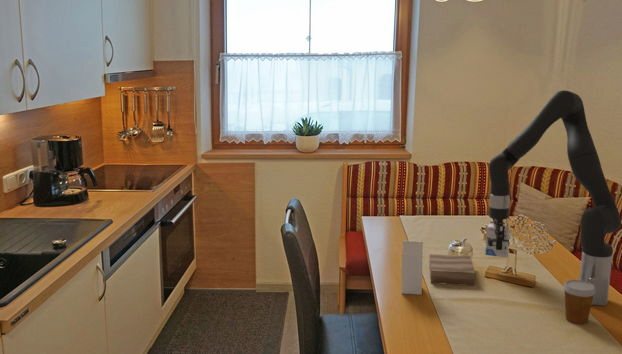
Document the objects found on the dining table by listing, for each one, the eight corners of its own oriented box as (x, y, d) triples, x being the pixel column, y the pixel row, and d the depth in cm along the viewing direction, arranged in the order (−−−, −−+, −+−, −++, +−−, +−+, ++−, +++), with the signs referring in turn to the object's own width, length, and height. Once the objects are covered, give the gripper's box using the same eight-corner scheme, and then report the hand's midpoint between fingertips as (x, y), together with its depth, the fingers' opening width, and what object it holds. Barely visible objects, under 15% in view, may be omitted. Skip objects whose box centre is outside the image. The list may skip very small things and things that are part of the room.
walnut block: (474, 285, 212) (474, 272, 211) (430, 283, 214) (431, 270, 213) (469, 267, 229) (470, 256, 228) (429, 266, 232) (429, 254, 231)
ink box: (485, 255, 223) (486, 226, 221) (487, 251, 227) (488, 223, 225) (507, 258, 219) (509, 228, 217) (509, 254, 224) (510, 225, 221)
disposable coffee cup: (565, 310, 189) (568, 276, 187) (596, 318, 183) (599, 283, 181) (556, 321, 182) (559, 286, 180) (588, 329, 176) (591, 293, 174)
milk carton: (421, 295, 204) (422, 244, 200) (401, 293, 205) (402, 243, 201) (421, 287, 211) (422, 238, 207) (402, 286, 212) (403, 237, 208)
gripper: (512, 210, 212) (510, 253, 215) (506, 201, 226) (504, 241, 229) (491, 210, 213) (490, 252, 216) (486, 201, 227) (485, 241, 230)
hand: (497, 246), depth 223 cm, fingers closed on ink box, 6 cm apart
